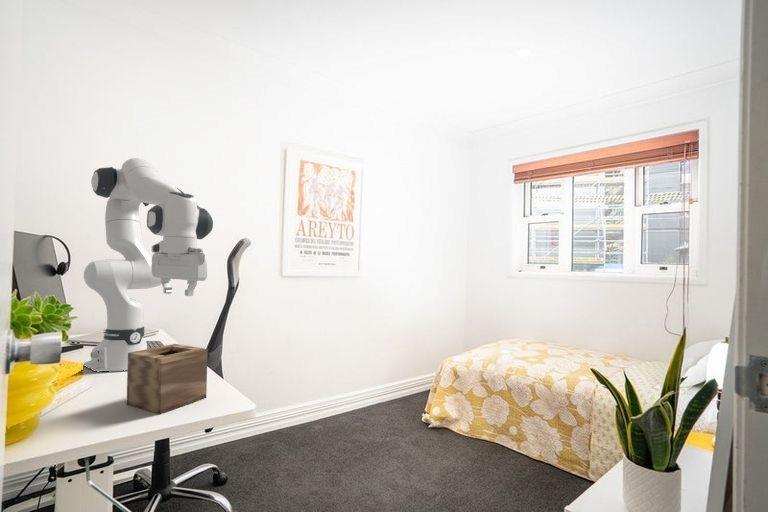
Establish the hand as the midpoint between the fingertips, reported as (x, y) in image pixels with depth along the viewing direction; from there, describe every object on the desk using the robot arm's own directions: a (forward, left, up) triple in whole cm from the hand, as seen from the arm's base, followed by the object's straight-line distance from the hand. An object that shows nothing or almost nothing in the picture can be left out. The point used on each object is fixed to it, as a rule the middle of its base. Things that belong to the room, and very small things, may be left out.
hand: (178, 294), depth 117 cm
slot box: (+3, -5, -29) cm, 30 cm away
